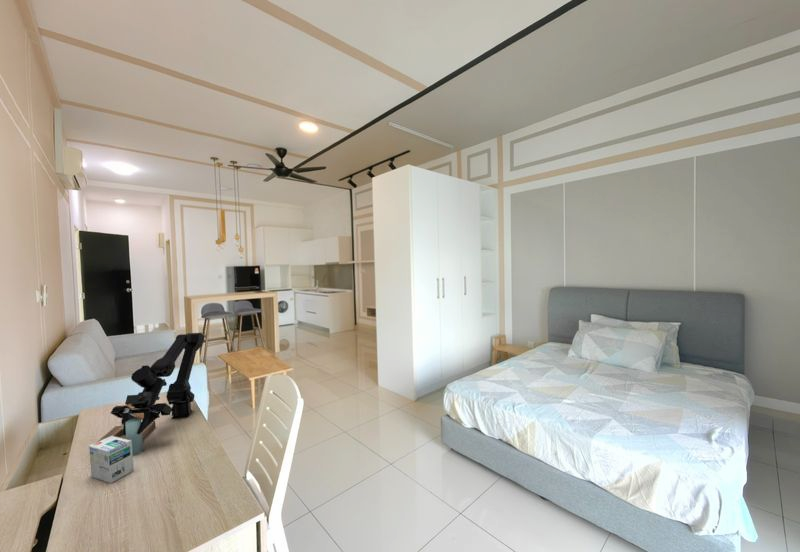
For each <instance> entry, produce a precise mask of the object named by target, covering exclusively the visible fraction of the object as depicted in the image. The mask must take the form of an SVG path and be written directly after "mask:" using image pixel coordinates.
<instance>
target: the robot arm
mask: <svg viewBox="0 0 800 552" xmlns="http://www.w3.org/2000/svg"><path fill="white" fill-rule="evenodd" d="M204 341H205V335H204V334H203V333H202V332H190V333H189V332H188V333H186V334H185V333H184V334H183V333H182V334H178V335H176V337H175V340H174V341H173V342H172V344H171V345H170V347H169V348H168V350H167V351H166V352H165V353H164V355H163V356H162V357H160V358H158V359H156V361H155V362H154V363H153V364H152V365H151V366H149V364H148V365H142V366H141V367H140V368H138V369H136V370H135V371H134V372H133V373H132V374H131V378H130V379H131V381H132V382H134V383H135V384H136V385H138V386H140V387H141V388H143V389H142V391H141V392H138V393H137V394H128V395H126V399H125V403H124V404H123V405H115V406H114V407H112V409H111V411H110V414H111V415H113V416H115V417H117V418H118V419H122V418H123V419H124V424H123V425H124V426H123V435H126V426H125V423H126V422H127V421H128V420H131V419H134V418H136V417H134V414H135V413H144V418H143V419H142V420H141V424H140V426H139V429H138V431H137V434H140V433H141V432H142V431H143V430H144V429H145V428H146V427H147V426H148V425H150V424H151V423H152V422H153V421H156V420H157V419H159V418H160V415H161V416H163V417H164V416H170V415H171V416H172V417H171V420H176V419H181V418H188V417H190V415H191V414H192V412H193V411H194V410H193V409H192V402H194V400H195V394H194V393H193V392H192V391H191V389H192V387H191V384H190V381H189V380H190V377H191V373H192V369H193V365H194V362H195V357H196V355H197V351H199V349H201V348H202V346H203V344H204ZM183 350H184V351H183ZM182 352H183V355H182V358H181V362H180V366H179V368H178V373H177V375H176V378H175V381H174V382H173V383H170V384H169V385H168V389H167V392H166V400H167V402H168V403H166V402H165V403H164V402H163V403H162V402H160V403H157V402H156V401H159V400H160V398H161V397H160V396H159V395H160V393H161V390H162V389H163V387H166V386H167V384H168V383H167V382H166V379H165V378H167V377H170V376H171V375H172V374H173V373H174V371H175V368H176V361H177V359H179V357H180V355H181V354H182ZM127 404H131V406H132V407H134V408H129V407H128V406H126V405H127ZM170 405H172V407H171V406H170ZM190 413H191V414H190Z"/></svg>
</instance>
